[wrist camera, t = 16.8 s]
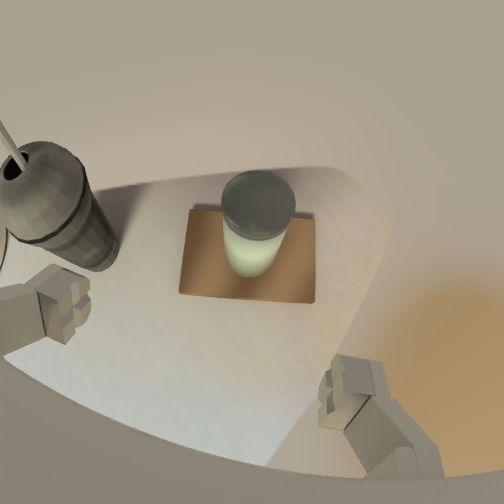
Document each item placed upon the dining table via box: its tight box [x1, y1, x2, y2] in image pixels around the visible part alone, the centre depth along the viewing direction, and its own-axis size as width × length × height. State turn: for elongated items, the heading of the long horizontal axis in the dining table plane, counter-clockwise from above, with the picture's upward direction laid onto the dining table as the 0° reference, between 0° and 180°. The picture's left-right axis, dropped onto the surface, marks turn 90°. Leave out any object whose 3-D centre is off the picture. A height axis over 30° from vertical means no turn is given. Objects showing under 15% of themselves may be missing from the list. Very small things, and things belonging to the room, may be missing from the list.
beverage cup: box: [0, 121, 119, 272], centre depth 20 cm, size 7×7×20 cm
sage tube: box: [221, 170, 296, 278], centre depth 24 cm, size 5×5×10 cm
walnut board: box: [179, 209, 315, 304], centre depth 30 cm, size 12×8×1 cm, turn 86°
